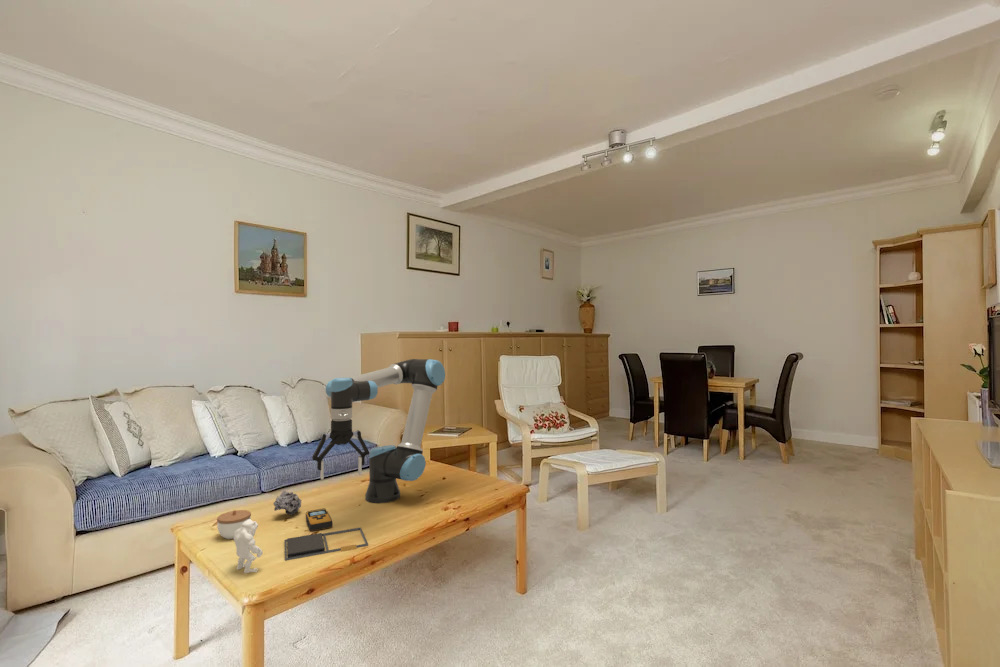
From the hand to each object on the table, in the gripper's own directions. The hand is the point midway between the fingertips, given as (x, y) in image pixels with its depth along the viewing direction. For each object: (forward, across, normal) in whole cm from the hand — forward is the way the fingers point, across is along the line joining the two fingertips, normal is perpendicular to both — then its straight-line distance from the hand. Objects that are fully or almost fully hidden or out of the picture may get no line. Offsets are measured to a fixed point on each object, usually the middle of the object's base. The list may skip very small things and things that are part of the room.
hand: (341, 476), depth 178 cm
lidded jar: (+20, -35, +13) cm, 43 cm away
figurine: (+21, -31, -18) cm, 41 cm away
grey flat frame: (+20, -7, -11) cm, 24 cm away
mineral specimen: (+20, -17, +25) cm, 36 cm away
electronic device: (+22, -6, +4) cm, 23 cm away
